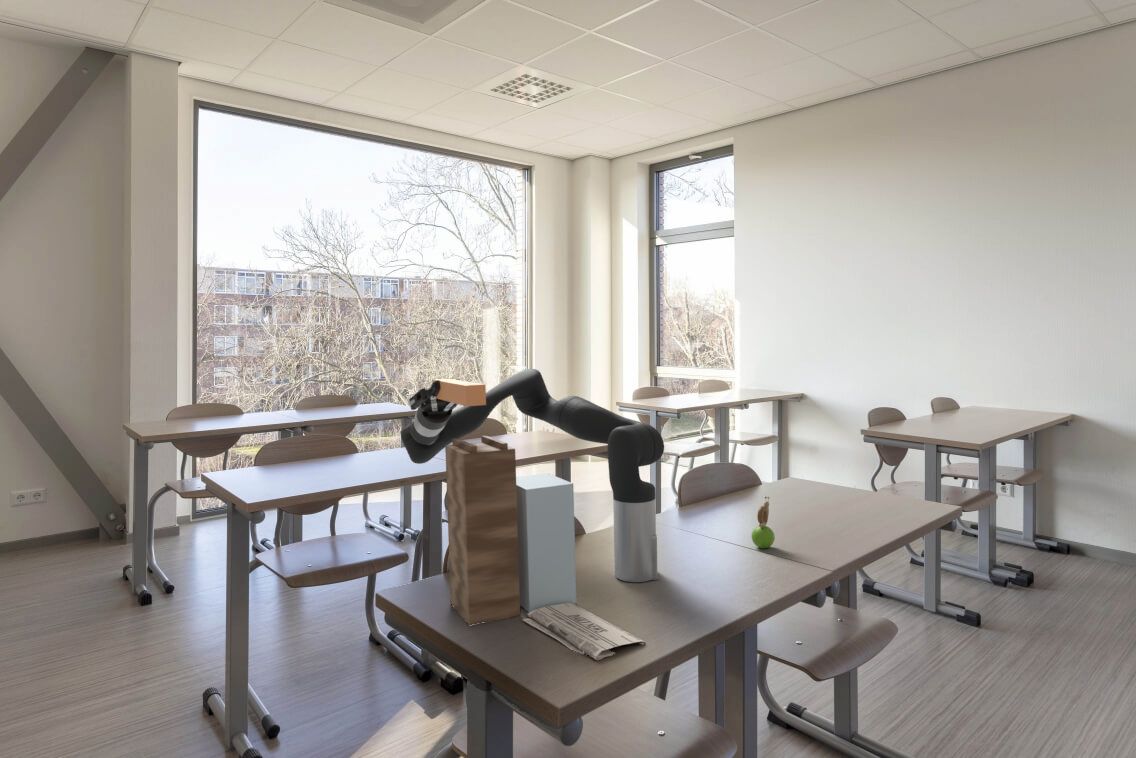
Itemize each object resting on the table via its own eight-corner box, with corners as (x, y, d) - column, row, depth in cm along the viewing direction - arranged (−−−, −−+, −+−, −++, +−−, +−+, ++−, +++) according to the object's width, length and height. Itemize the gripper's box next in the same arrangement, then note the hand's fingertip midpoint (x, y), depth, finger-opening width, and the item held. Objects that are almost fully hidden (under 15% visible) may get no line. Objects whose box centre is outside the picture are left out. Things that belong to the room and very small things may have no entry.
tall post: (450, 604, 137) (445, 439, 135) (497, 594, 142) (492, 434, 140) (469, 626, 127) (463, 447, 125) (520, 615, 131) (515, 442, 129)
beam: (432, 397, 154) (432, 379, 154) (450, 396, 156) (449, 378, 155) (466, 406, 132) (465, 385, 132) (486, 404, 134) (485, 384, 134)
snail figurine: (778, 545, 170) (778, 497, 169) (770, 552, 165) (770, 503, 164) (756, 542, 173) (756, 495, 172) (748, 549, 168) (748, 500, 167)
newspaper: (519, 623, 129) (520, 610, 129) (573, 614, 136) (573, 601, 136) (590, 670, 110) (591, 654, 110) (648, 656, 117) (649, 641, 117)
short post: (507, 592, 143) (503, 478, 141) (550, 584, 147) (547, 473, 146) (529, 613, 132) (526, 489, 130) (576, 603, 136) (573, 483, 135)
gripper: (399, 403, 161) (413, 369, 147) (458, 399, 167) (477, 366, 154) (404, 433, 158) (419, 400, 144) (464, 428, 164) (483, 396, 151)
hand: (448, 383), depth 149 cm, fingers closed on beam, 4 cm apart
